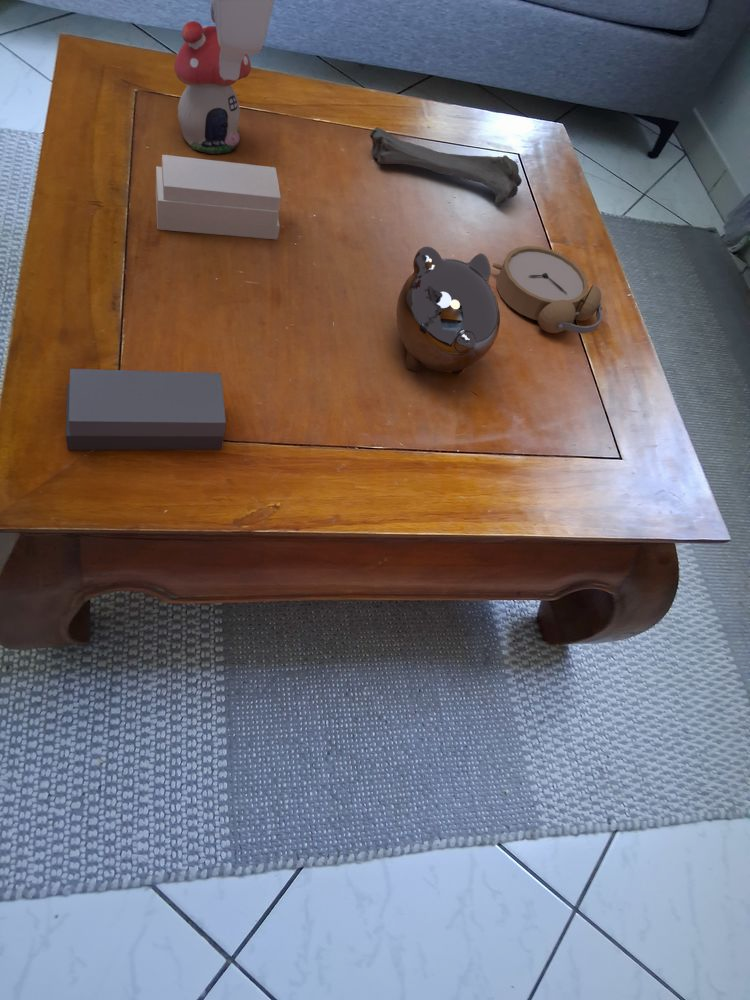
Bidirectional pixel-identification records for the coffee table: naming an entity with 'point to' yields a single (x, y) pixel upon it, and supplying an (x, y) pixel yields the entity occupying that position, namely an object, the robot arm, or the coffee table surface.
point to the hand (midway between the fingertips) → (223, 47)
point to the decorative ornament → (207, 92)
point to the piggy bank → (447, 312)
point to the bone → (450, 164)
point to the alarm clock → (548, 289)
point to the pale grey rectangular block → (220, 182)
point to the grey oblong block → (213, 217)
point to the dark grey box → (144, 410)
